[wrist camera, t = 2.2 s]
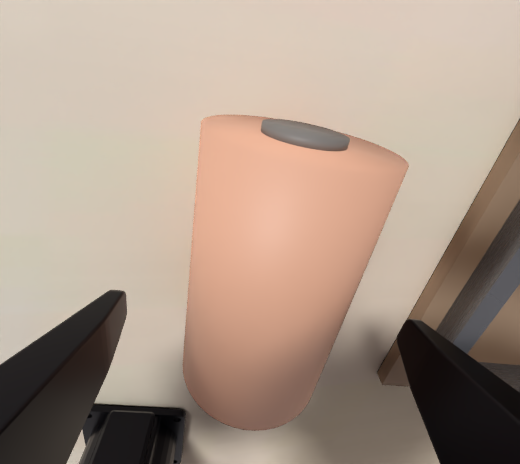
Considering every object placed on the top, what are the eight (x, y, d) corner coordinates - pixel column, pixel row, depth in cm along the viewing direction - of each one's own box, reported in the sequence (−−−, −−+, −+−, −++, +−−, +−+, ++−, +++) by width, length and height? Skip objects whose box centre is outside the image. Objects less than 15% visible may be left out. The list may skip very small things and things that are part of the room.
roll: (299, 319, 17) (329, 435, 12) (191, 311, 16) (170, 433, 11) (362, 127, 12) (464, 178, 7) (209, 99, 11) (188, 134, 6)
